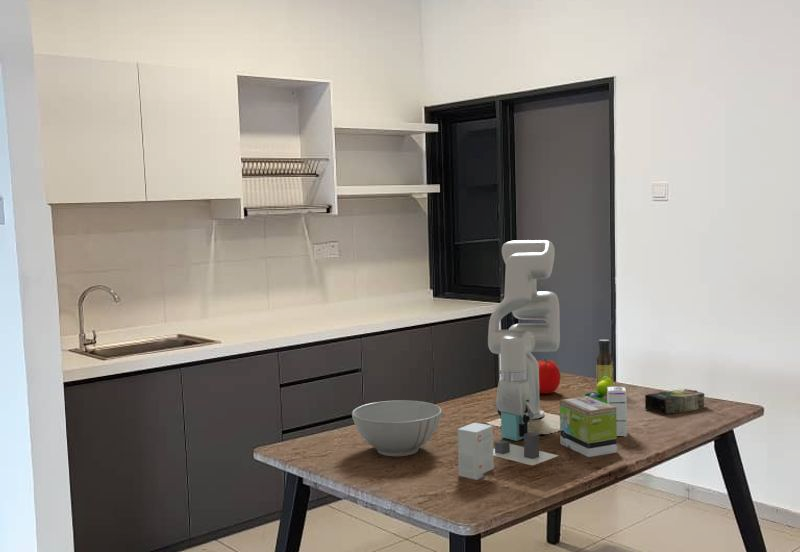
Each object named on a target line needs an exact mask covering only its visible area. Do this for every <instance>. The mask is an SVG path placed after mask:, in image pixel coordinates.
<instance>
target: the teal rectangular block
mask: <svg viewBox="0 0 800 552" xmlns="http://www.w3.org/2000/svg"><path fill="white" fill-rule="evenodd" d="M527 415H528V413H527ZM500 417H501V418H500V424H501V425H500V426H501V427H500V428H501V429H500V431H501V432H500V433H501V438H504V439H508V440H512V441H516V442H517V441H520V440H522V439H523V440H524V436H523V437H520V436H519V424H521V423H520V419H519V416H518V415H513V414H509V413H505V412H501V416H500ZM523 418H524V415H523ZM527 430H528V432H527V433H529V422H528V423H527Z"/></svg>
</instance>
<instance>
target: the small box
mask: <svg viewBox="0 0 800 552" xmlns="http://www.w3.org/2000/svg"><path fill="white" fill-rule="evenodd" d="M493 428H494V427H493V425H491V424H485V423H479V422H473V423H470V424H466V425H465V426H464V425H463V426H462V427H460V428H457V429H456V430H457V431H456V432H457V453H458V454H457V456H458V457H457V459H458V461H457V462H458V476H459V477H463V478H467V479H470V480H475V481H477V480H480V479H482V478H484V477H487V476H488V474H487V472H490V471H492V470H494V467H495V466H494V465H495V464H494V455H493V449H494V429H493Z"/></svg>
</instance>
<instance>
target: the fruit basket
mask: <svg viewBox="0 0 800 552" xmlns="http://www.w3.org/2000/svg"><path fill="white" fill-rule="evenodd" d="M607 387H612V380H611V379H610V377H607V376H604V377H603V378H602V380H601V381H600V382H599V383H598V384H597V383H596V388H597V389H598V391H597V389H596V390H592V391H591V392H588V393H584V394H582V397H584V396H588V397H590V398H593V399H596V400H598V401H601V402H604V403H606V404H607Z"/></svg>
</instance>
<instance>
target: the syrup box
mask: <svg viewBox="0 0 800 552" xmlns="http://www.w3.org/2000/svg"><path fill="white" fill-rule="evenodd" d="M627 402H628V401H627V391H626V387H625V386H614V387H607V404H609V405H612V406H614V407H616V424H617V436H624V437H623V438H628V406H627V404H628V403H627Z"/></svg>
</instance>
